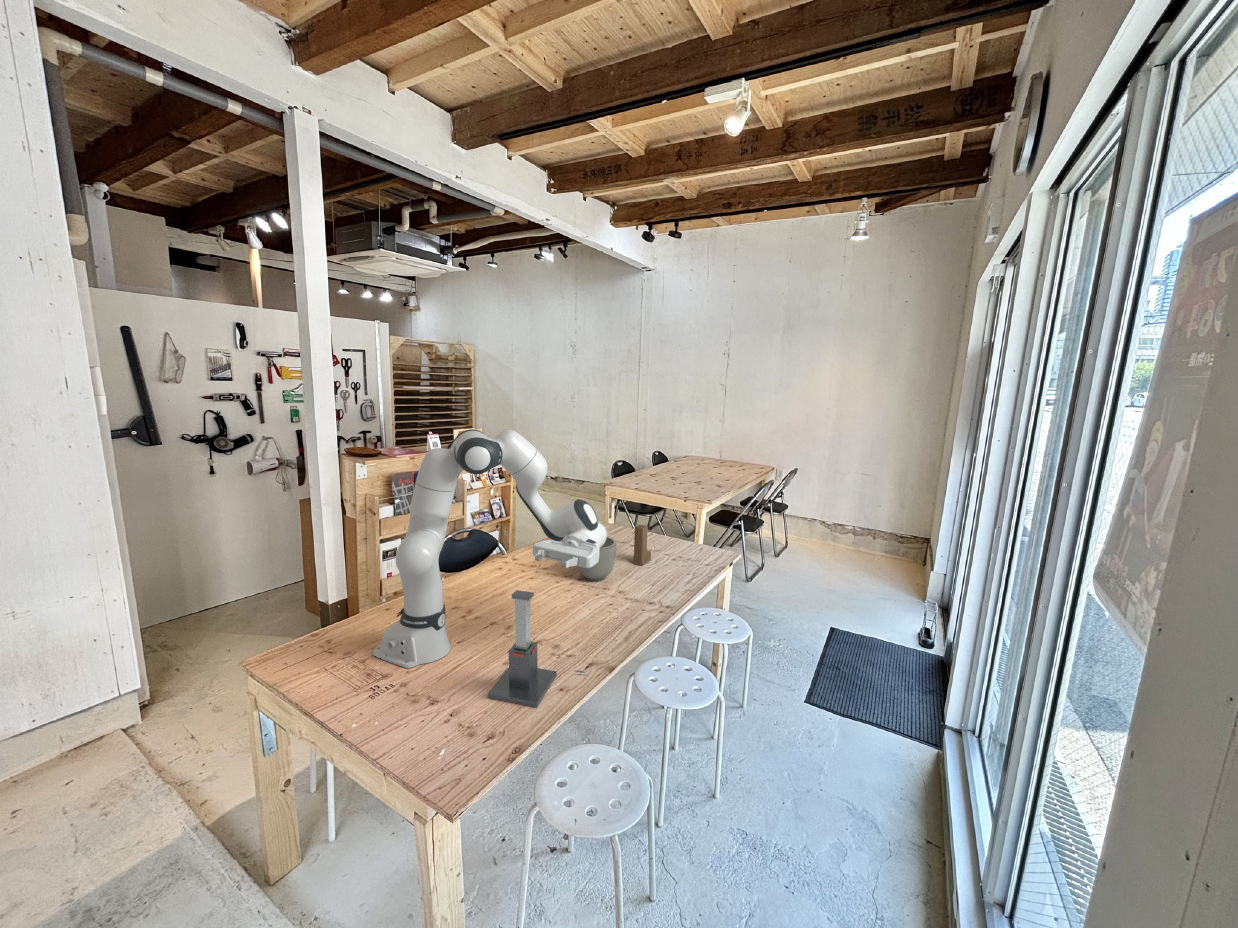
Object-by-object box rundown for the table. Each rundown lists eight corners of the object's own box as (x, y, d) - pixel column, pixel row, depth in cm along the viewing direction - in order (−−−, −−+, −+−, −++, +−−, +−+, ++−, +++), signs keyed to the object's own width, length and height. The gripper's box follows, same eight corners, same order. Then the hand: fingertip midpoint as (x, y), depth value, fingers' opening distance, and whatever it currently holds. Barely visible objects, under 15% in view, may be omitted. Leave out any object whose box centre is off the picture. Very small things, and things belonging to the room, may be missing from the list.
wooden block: (642, 558, 233) (643, 521, 230) (651, 560, 231) (652, 523, 227) (633, 564, 225) (634, 526, 222) (641, 566, 223) (643, 528, 220)
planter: (614, 586, 201) (615, 549, 198) (572, 585, 201) (573, 547, 198) (616, 570, 218) (616, 535, 215) (577, 568, 218) (577, 534, 215)
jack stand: (488, 697, 130) (487, 656, 128) (511, 668, 144) (511, 630, 142) (537, 707, 127) (537, 665, 125) (556, 675, 141) (556, 637, 138)
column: (512, 663, 133) (511, 594, 130) (517, 657, 136) (516, 589, 133) (529, 666, 132) (528, 597, 128) (534, 660, 135) (533, 592, 132)
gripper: (547, 532, 158) (521, 544, 145) (603, 543, 149) (580, 558, 137) (547, 550, 159) (520, 564, 146) (603, 563, 150) (580, 579, 138)
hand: (550, 561), depth 141 cm, fingers open, 8 cm apart
